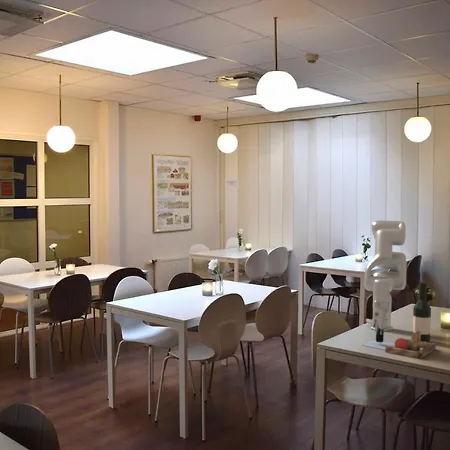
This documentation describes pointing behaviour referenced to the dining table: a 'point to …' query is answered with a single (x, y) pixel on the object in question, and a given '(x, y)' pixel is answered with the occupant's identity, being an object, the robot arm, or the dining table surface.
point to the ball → (401, 343)
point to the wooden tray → (413, 354)
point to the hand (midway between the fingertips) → (379, 341)
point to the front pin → (418, 345)
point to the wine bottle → (422, 314)
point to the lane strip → (381, 344)
